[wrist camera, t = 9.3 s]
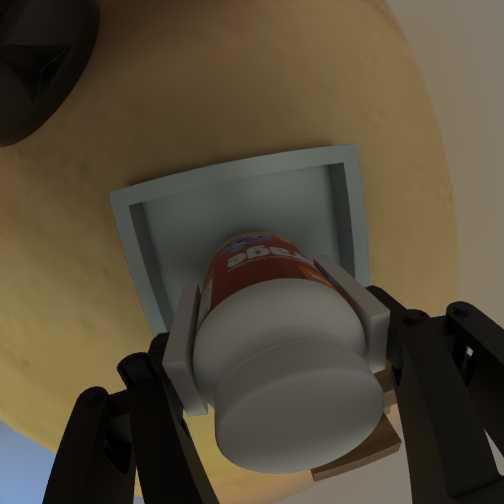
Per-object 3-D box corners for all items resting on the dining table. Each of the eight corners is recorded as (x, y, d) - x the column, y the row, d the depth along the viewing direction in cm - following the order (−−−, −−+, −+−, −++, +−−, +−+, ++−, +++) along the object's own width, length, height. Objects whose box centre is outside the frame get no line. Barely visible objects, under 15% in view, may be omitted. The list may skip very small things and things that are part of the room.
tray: (126, 188, 17) (108, 192, 14) (335, 146, 17) (356, 143, 14) (182, 365, 21) (178, 391, 18) (352, 327, 21) (368, 348, 18)
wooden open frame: (273, 369, 22) (288, 423, 16) (399, 331, 22) (435, 369, 17) (288, 442, 25) (299, 485, 19) (387, 410, 26) (409, 445, 20)
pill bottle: (319, 242, 16) (446, 345, 6) (290, 331, 18) (351, 475, 7) (215, 218, 15) (204, 323, 5) (195, 316, 17) (177, 478, 6)
